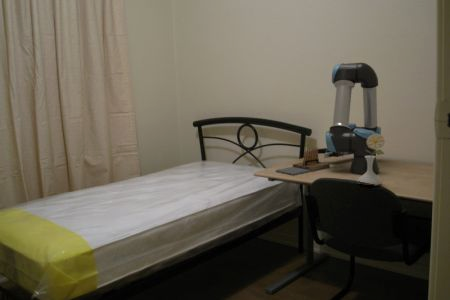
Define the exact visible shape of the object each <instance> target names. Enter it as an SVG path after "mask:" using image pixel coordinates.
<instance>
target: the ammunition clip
mask: <svg viewBox="0 0 450 300" xmlns="http://www.w3.org/2000/svg"><path fill="white" fill-rule="evenodd" d="M313 149H314V150H313ZM315 149H316V152H315ZM318 149H319V148H318V147H311V148H307V149H306V148H304V151H303V161H302V162H303V166H308V165H313V164H318V163H319V162H320V161H319V154H318Z"/></svg>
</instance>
